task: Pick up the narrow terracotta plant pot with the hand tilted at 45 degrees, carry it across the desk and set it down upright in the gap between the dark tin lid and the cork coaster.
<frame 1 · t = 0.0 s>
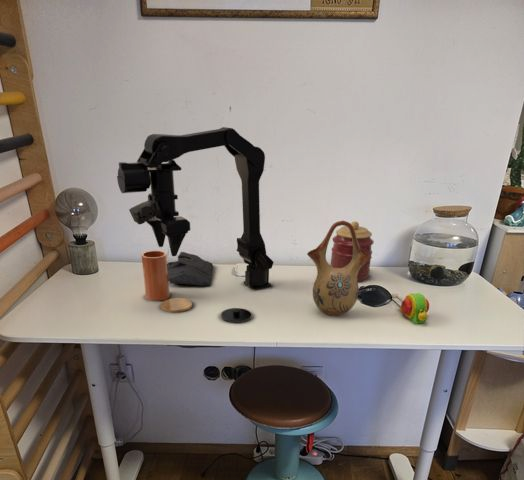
hand: (167, 251, 124), 15 cm above the table, tool pointing down, fingers open, 9 cm apart
ceramic vessel: (333, 314, 127), on the table
dark slate chunk: (188, 275, 150), on the table
toy measuring tape: (407, 311, 129), on the table
lid: (236, 316, 124), on the table
pot: (157, 296, 134), on the table
kitchen canister: (348, 276, 154), on the table
coaster: (176, 306, 129), on the table
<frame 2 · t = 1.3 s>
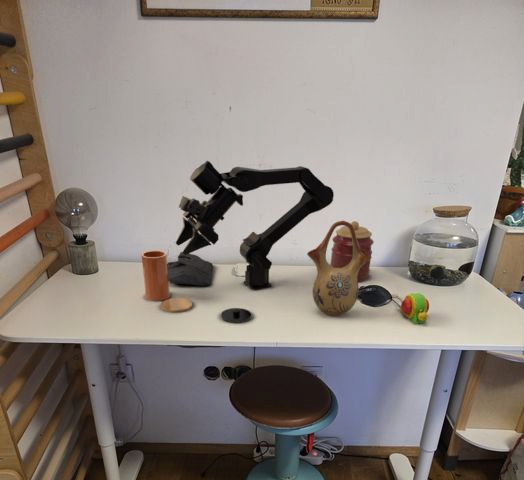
hand: (180, 249, 130), 13 cm above the table, tool tilted 45°, fingers open, 9 cm apart
nothing on the table moved.
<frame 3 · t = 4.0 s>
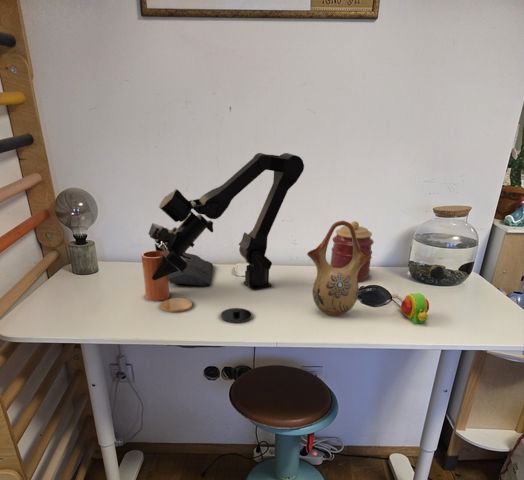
hand: (150, 275, 131), 7 cm above the table, tool tilted 45°, fingers closed on pot, 7 cm apart
pot: (157, 296, 134), on the table, touching gripper
everything else where it was.
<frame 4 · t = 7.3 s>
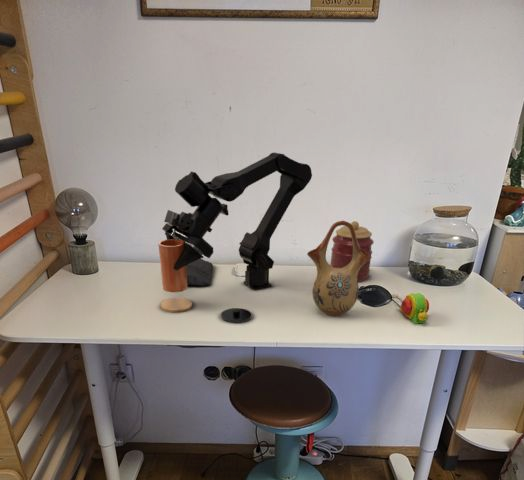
hand: (168, 265, 123), 12 cm above the table, tool tilted 45°, fingers closed on pot, 7 cm apart
pot: (175, 287, 127), point 5 cm above the table, touching gripper
everything else where it was.
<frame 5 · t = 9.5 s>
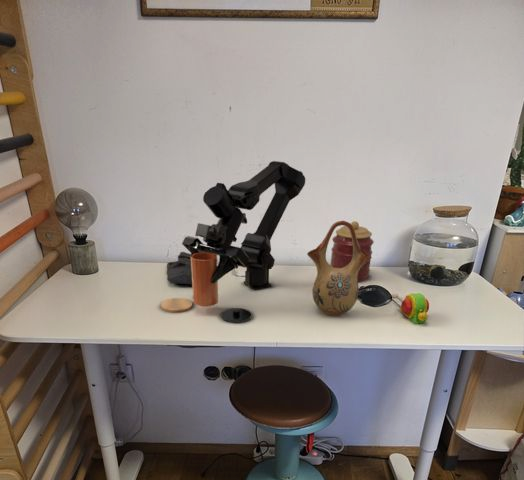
hand: (201, 279, 121), 9 cm above the table, tool tilted 45°, fingers closed on pot, 7 cm apart
pot: (205, 301, 125), point 3 cm above the table, touching gripper
everything else where it was.
when the fingers open (7 cm above the table, at t = 10.9 s): pot stays where it is, on the table.
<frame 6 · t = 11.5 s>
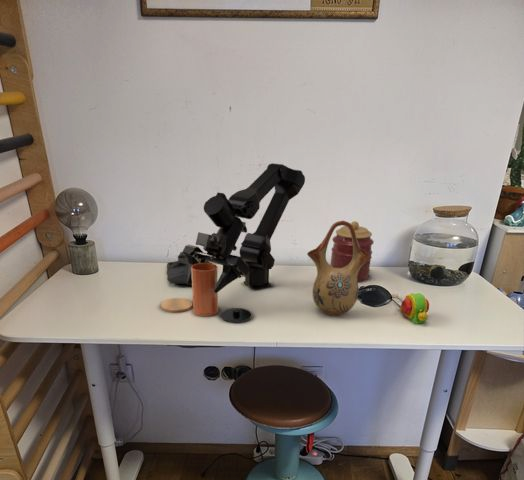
hand: (201, 288, 122), 7 cm above the table, tool tilted 45°, fingers open, 9 cm apart
pot: (205, 311, 126), on the table
everything else where it was.
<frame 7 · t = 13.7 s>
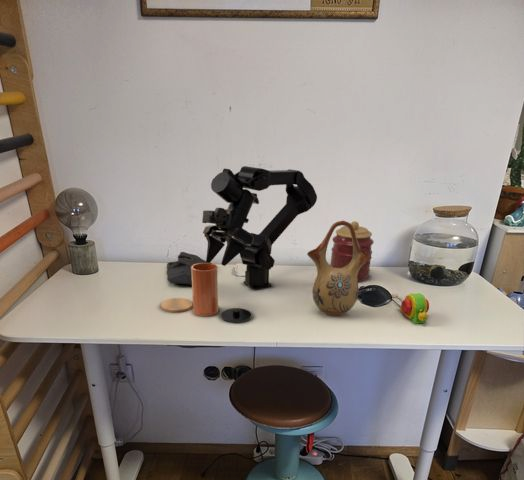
hand: (215, 263, 127), 11 cm above the table, tool tilted 35°, fingers open, 9 cm apart
nothing on the table moved.
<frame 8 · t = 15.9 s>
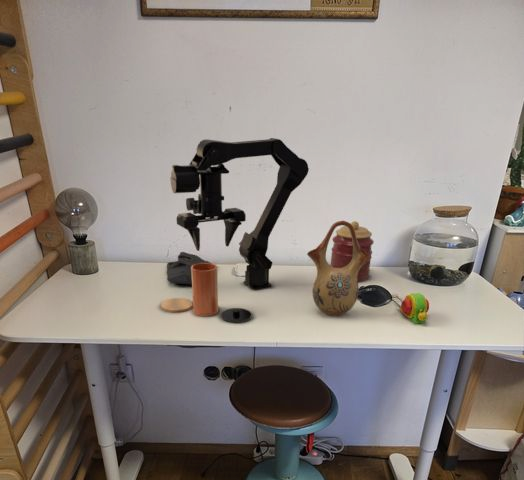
hand: (212, 248, 133), 13 cm above the table, tool pointing down, fingers open, 9 cm apart
nothing on the table moved.
at the end: pot 0.0 cm from the target spot, on the table; pot tilted 0°; the gripper is holding nothing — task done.
